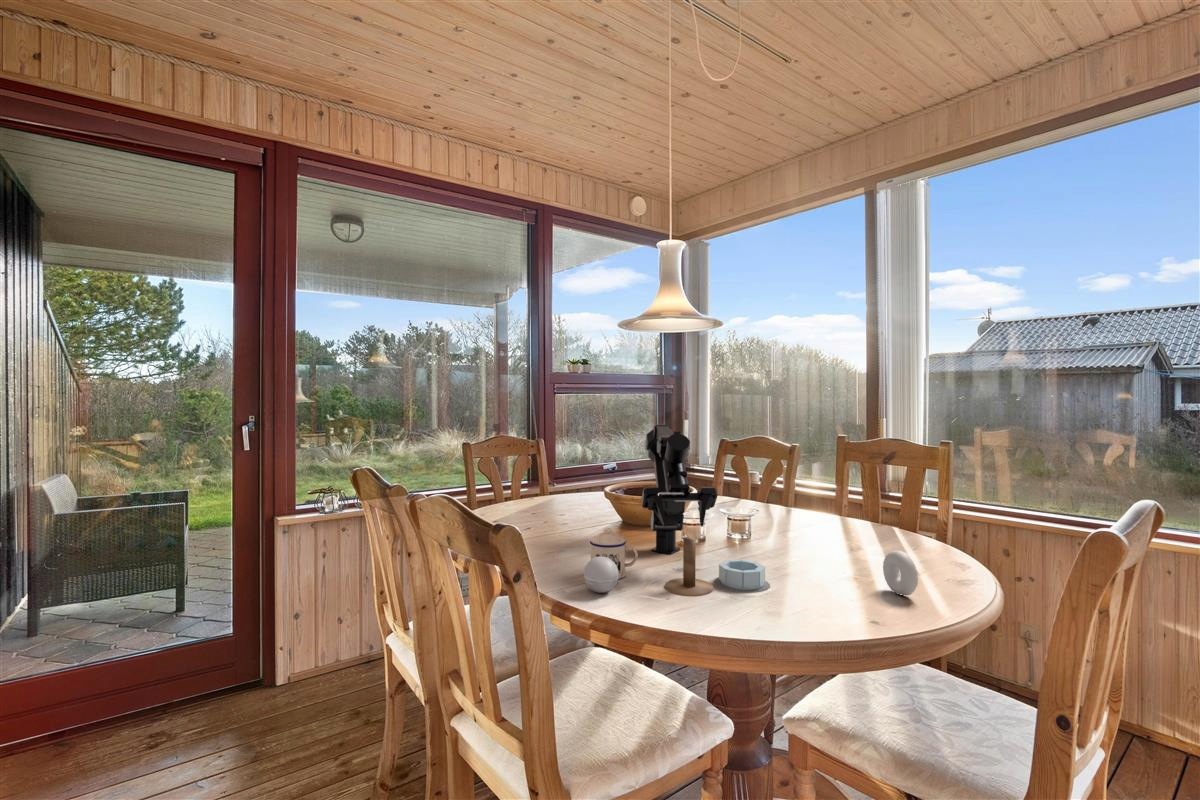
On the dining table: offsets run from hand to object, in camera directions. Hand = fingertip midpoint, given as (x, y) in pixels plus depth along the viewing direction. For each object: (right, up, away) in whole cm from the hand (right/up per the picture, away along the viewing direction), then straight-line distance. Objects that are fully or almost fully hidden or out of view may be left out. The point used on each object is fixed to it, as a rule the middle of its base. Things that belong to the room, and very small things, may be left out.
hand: (683, 526), depth 138 cm
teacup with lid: (-17, -13, +3) cm, 22 cm away
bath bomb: (-20, -13, -9) cm, 26 cm away
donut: (+48, -14, -10) cm, 51 cm away
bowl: (+13, -13, -3) cm, 19 cm away
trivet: (+13, -13, -3) cm, 19 cm away
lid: (0, -13, -7) cm, 15 cm away
